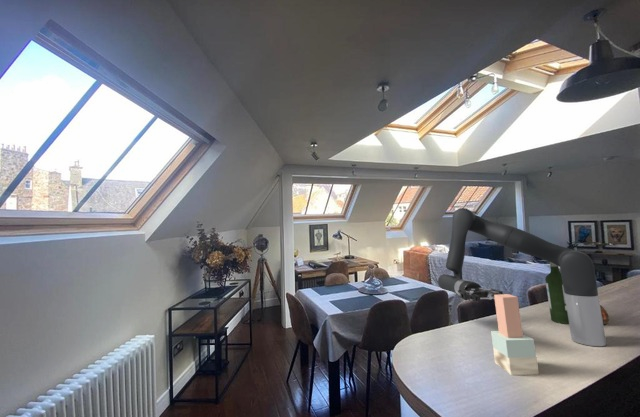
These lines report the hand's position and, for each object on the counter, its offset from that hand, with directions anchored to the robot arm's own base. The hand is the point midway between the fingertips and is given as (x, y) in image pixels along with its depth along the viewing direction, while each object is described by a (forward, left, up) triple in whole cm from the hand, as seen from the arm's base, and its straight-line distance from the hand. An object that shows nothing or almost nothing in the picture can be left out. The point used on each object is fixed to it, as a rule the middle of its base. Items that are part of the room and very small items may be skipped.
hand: (491, 298), depth 94 cm
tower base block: (+4, +8, -19) cm, 21 cm away
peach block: (+5, +8, -9) cm, 13 cm away
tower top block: (+5, +8, -14) cm, 17 cm away
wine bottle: (-57, -3, -19) cm, 60 cm away
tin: (-67, +4, -19) cm, 69 cm away
